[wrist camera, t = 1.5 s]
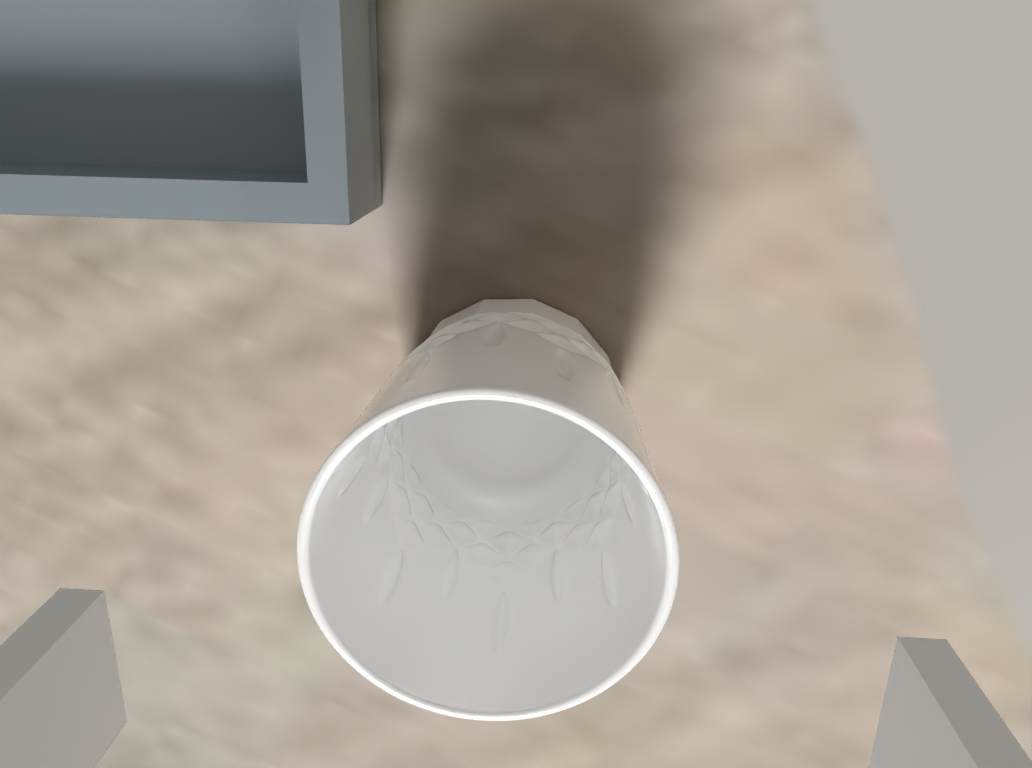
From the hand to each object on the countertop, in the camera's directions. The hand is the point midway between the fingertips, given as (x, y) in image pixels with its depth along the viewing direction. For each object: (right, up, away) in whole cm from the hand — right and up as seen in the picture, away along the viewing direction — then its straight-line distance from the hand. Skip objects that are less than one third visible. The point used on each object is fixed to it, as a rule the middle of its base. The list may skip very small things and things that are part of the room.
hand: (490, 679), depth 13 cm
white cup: (0, +5, +13) cm, 13 cm away
